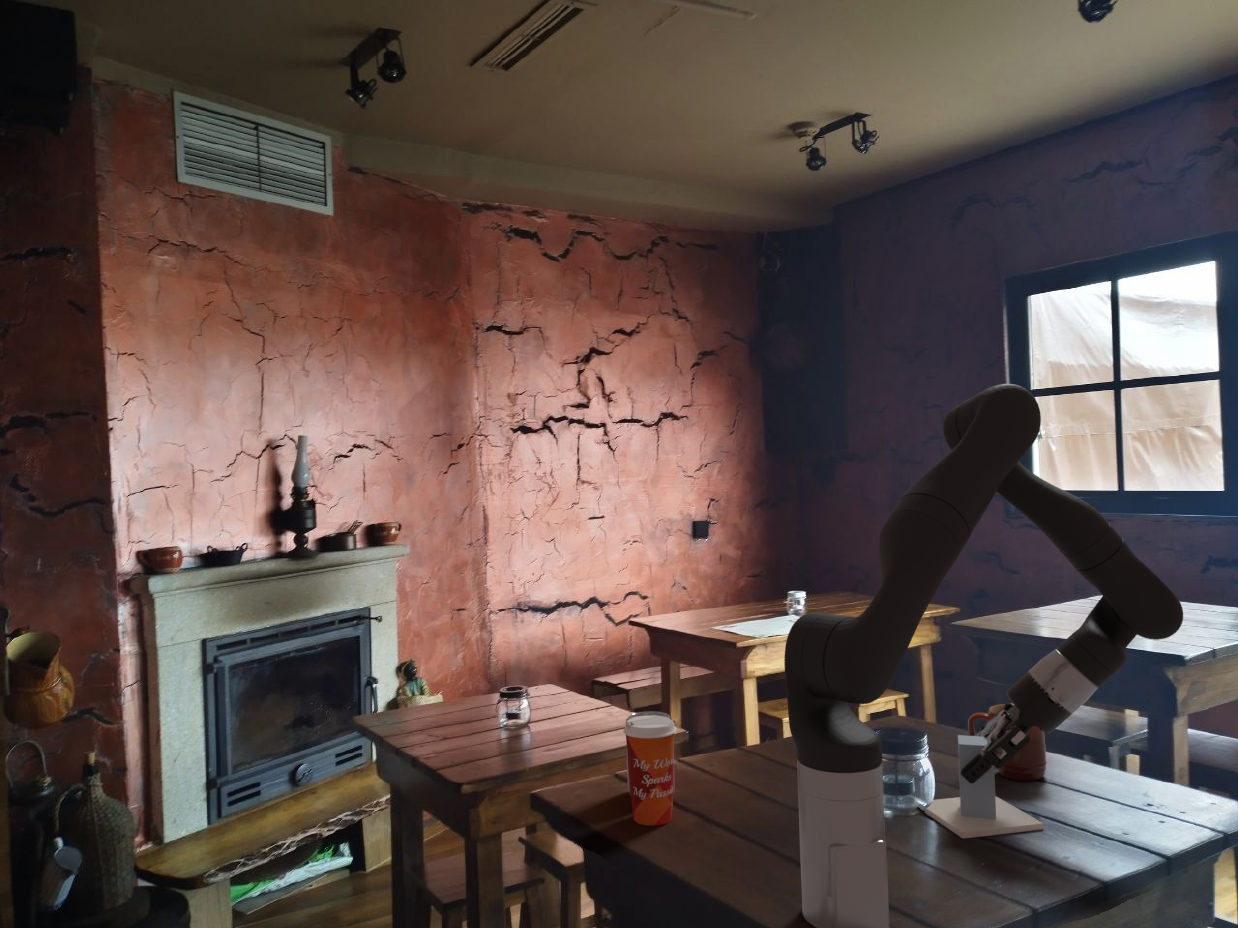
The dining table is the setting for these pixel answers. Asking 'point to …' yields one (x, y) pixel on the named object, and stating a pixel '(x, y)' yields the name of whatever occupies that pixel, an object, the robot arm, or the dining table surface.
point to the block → (980, 794)
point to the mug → (1019, 752)
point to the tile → (981, 819)
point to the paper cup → (651, 768)
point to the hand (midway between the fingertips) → (964, 768)
